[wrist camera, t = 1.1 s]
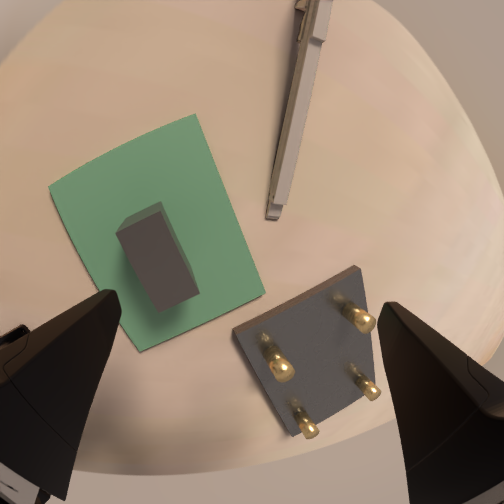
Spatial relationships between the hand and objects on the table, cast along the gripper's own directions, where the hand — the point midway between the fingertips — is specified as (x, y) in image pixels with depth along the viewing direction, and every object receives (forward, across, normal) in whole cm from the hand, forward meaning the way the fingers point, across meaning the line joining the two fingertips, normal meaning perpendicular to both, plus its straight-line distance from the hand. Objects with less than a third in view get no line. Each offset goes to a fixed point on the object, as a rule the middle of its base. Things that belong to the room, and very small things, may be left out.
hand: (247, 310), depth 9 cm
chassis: (+12, -7, +17) cm, 22 cm away
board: (+10, +7, +3) cm, 13 cm away
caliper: (+16, -2, -8) cm, 18 cm away
